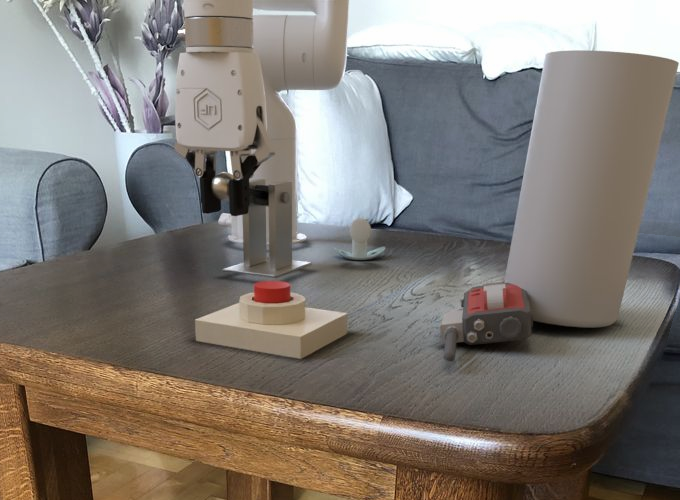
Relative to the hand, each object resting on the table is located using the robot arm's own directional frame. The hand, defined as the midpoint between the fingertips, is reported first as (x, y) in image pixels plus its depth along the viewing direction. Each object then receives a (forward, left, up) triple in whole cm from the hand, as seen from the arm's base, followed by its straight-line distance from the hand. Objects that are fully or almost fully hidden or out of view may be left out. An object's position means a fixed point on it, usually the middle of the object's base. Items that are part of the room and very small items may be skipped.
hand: (225, 211), depth 98 cm
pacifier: (+8, +22, -9) cm, 25 cm away
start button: (+16, -16, -6) cm, 23 cm away
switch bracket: (0, +10, -9) cm, 13 cm away
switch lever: (0, +5, 0) cm, 5 cm away
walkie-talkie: (+36, -7, -9) cm, 37 cm away
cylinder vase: (+40, +5, -9) cm, 41 cm away
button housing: (+16, -16, -9) cm, 25 cm away
